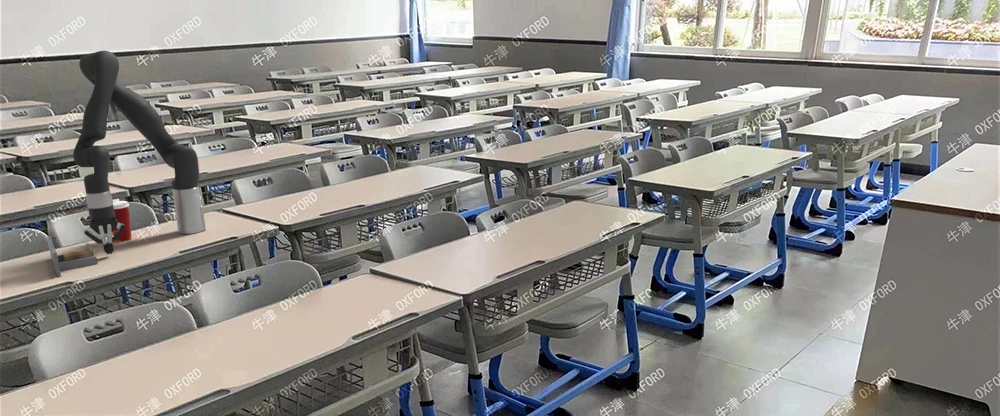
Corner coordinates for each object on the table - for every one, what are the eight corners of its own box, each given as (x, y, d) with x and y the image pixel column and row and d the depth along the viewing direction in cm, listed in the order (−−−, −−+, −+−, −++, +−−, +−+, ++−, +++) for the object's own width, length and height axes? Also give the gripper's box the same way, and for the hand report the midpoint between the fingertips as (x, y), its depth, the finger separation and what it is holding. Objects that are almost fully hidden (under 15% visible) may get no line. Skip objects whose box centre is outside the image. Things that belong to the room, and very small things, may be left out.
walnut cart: (91, 257, 242) (88, 242, 241) (93, 262, 237) (90, 246, 236) (64, 262, 238) (61, 247, 236) (66, 267, 233) (63, 251, 232)
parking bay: (91, 251, 249) (87, 229, 247) (100, 268, 230) (96, 245, 228) (51, 258, 243) (47, 236, 241) (57, 277, 224) (52, 253, 222)
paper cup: (139, 236, 266) (133, 200, 263) (126, 242, 259) (120, 205, 255) (119, 236, 267) (113, 200, 263) (106, 242, 260) (100, 205, 256)
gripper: (120, 199, 244) (128, 247, 249) (76, 205, 237) (86, 254, 242) (123, 203, 238) (132, 252, 243) (79, 210, 231) (88, 260, 236)
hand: (109, 253), depth 242 cm, fingers closed
